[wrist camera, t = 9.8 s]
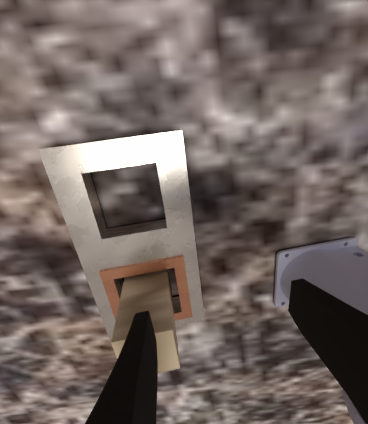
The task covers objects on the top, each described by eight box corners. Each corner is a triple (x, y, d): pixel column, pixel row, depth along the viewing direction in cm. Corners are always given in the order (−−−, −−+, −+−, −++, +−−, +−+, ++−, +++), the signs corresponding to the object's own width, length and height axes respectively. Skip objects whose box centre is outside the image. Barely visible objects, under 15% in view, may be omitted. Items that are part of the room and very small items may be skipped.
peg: (166, 260, 21) (172, 329, 13) (171, 290, 22) (180, 368, 15) (126, 267, 21) (111, 342, 13) (134, 297, 22) (125, 380, 15)
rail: (179, 130, 17) (182, 129, 15) (200, 305, 24) (205, 321, 22) (51, 147, 16) (36, 149, 14) (113, 323, 23) (109, 341, 21)
